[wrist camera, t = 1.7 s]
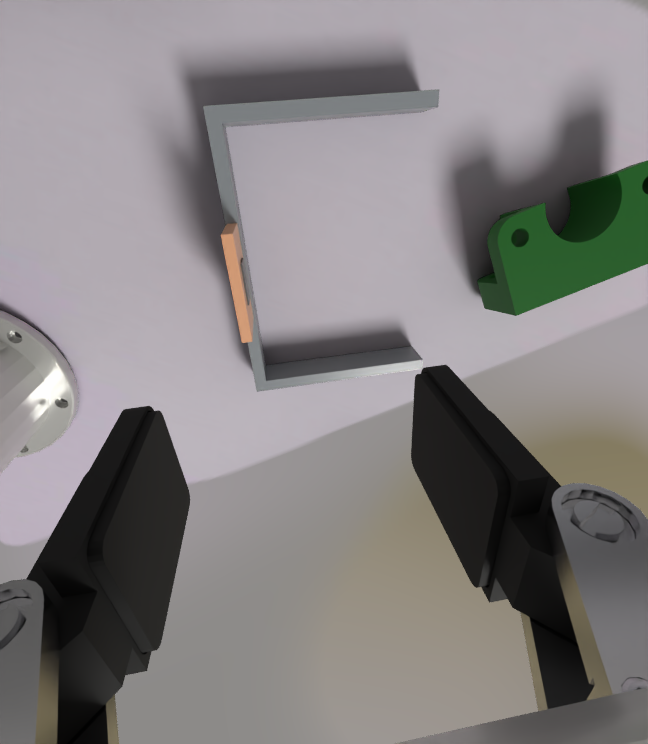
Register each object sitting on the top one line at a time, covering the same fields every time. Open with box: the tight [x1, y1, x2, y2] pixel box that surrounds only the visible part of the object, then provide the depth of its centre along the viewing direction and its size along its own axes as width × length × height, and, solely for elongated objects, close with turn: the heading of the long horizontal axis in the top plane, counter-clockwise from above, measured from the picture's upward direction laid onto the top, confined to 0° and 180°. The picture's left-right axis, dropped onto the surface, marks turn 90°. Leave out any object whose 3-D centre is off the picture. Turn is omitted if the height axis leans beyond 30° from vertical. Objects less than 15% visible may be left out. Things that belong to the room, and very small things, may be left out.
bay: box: [203, 89, 439, 392], centre depth 24 cm, size 13×18×6 cm
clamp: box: [477, 161, 648, 316], centre depth 26 cm, size 12×6×9 cm, turn 106°
